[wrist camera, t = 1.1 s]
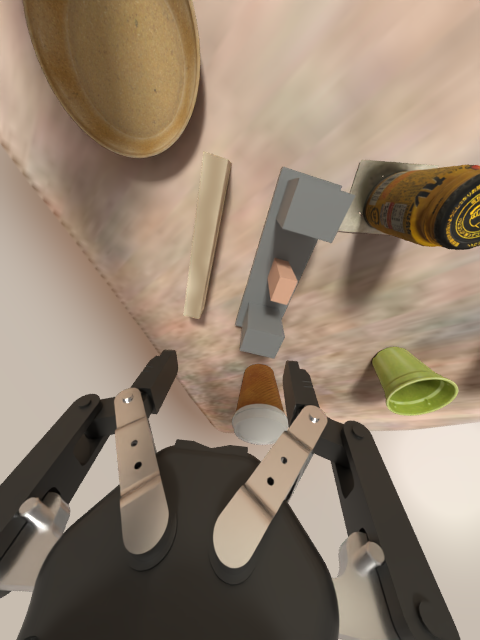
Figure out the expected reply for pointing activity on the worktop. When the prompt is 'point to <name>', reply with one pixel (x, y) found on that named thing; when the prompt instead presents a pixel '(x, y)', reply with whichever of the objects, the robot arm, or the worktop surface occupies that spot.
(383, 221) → the condiment
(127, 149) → the plant saucer
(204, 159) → the ash bar
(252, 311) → the display stand
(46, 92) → the worktop surface
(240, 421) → the disposable coffee cup
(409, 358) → the plant pot
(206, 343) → the worktop surface
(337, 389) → the worktop surface
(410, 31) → the worktop surface
